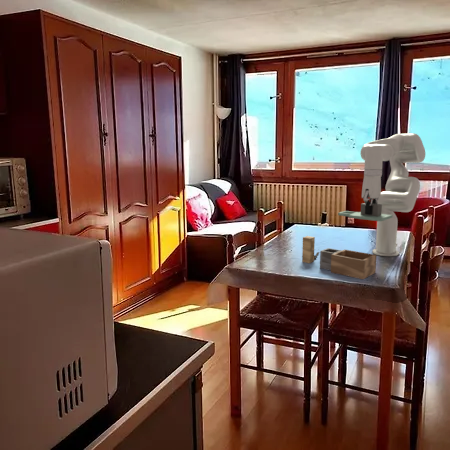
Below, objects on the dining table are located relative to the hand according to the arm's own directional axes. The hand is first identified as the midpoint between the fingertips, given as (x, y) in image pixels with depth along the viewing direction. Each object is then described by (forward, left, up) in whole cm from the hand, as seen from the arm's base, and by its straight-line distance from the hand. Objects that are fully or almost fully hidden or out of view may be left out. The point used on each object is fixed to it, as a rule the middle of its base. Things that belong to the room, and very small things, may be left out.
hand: (370, 213), depth 195 cm
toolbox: (+16, -3, -24) cm, 29 cm away
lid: (0, -4, -2) cm, 4 cm away
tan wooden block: (+14, -24, -24) cm, 37 cm away
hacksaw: (0, -32, -25) cm, 40 cm away
